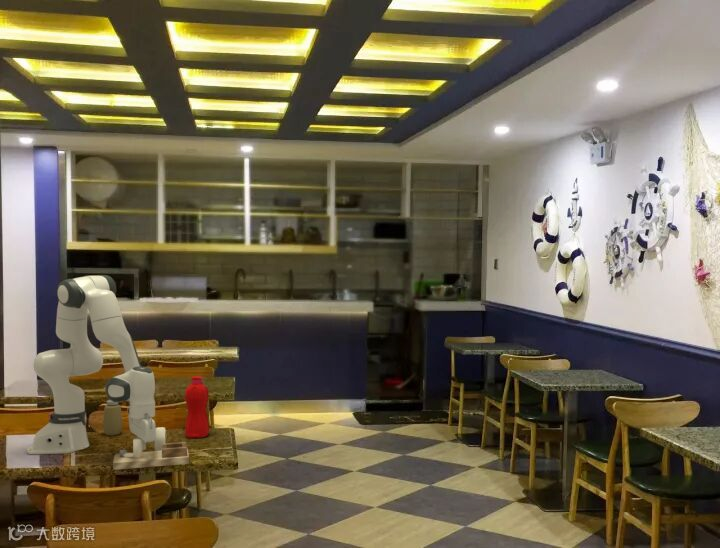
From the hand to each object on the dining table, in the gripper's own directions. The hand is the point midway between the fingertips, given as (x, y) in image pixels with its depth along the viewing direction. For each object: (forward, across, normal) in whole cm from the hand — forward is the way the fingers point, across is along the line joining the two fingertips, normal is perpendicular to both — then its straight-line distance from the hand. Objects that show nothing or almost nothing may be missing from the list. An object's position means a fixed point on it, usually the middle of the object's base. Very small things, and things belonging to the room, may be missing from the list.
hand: (142, 449), depth 260 cm
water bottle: (+5, +24, -31) cm, 40 cm away
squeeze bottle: (+5, +49, -2) cm, 49 cm away
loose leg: (+4, +9, -10) cm, 14 cm away
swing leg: (+2, 0, +4) cm, 5 cm away
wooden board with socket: (+4, -3, -2) cm, 6 cm away
